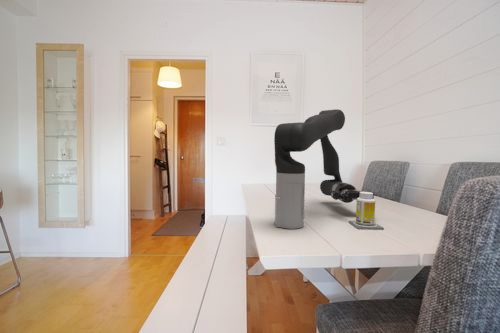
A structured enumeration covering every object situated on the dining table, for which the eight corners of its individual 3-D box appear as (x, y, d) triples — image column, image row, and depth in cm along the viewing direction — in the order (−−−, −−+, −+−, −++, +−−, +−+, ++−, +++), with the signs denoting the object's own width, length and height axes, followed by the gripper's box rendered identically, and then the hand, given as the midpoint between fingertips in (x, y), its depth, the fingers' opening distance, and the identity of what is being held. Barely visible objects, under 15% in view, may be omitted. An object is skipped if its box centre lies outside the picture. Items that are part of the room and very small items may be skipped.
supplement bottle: (377, 223, 83) (378, 193, 82) (369, 226, 79) (371, 194, 78) (360, 220, 87) (361, 190, 86) (352, 222, 83) (354, 192, 83)
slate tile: (357, 229, 79) (357, 226, 79) (348, 222, 87) (348, 220, 87) (383, 229, 79) (383, 227, 79) (371, 222, 87) (371, 220, 87)
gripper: (326, 182, 104) (339, 187, 88) (361, 183, 103) (380, 188, 87) (326, 200, 104) (338, 209, 88) (360, 201, 104) (379, 209, 88)
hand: (359, 198), depth 88 cm, fingers open, 8 cm apart
